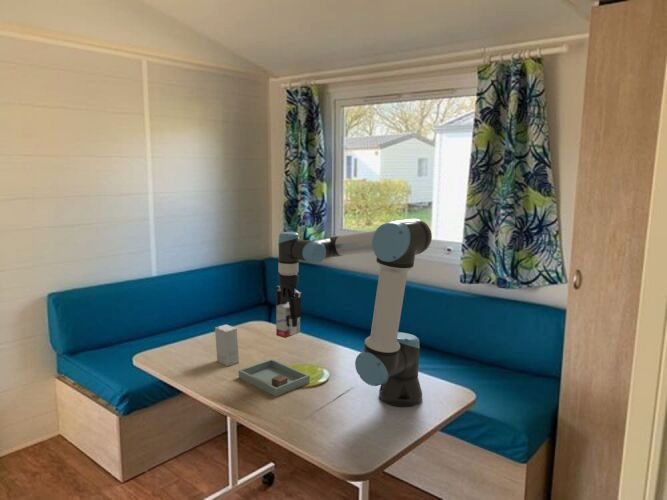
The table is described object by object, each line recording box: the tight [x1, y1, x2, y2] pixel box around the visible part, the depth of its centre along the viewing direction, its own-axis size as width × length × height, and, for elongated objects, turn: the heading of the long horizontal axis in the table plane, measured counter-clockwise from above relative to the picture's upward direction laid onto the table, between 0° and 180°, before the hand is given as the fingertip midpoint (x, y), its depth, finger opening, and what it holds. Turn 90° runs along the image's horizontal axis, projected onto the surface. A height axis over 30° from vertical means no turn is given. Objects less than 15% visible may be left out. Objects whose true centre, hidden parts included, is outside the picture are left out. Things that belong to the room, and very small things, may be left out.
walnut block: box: [272, 375, 288, 387], centre depth 180 cm, size 4×4×4 cm
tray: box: [238, 358, 311, 397], centre depth 187 cm, size 22×16×4 cm
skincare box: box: [214, 323, 240, 367], centre depth 205 cm, size 8×6×15 cm
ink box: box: [275, 301, 301, 339], centre depth 191 cm, size 9×5×12 cm, turn 140°
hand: (288, 332), depth 192 cm, fingers closed on ink box, 5 cm apart
